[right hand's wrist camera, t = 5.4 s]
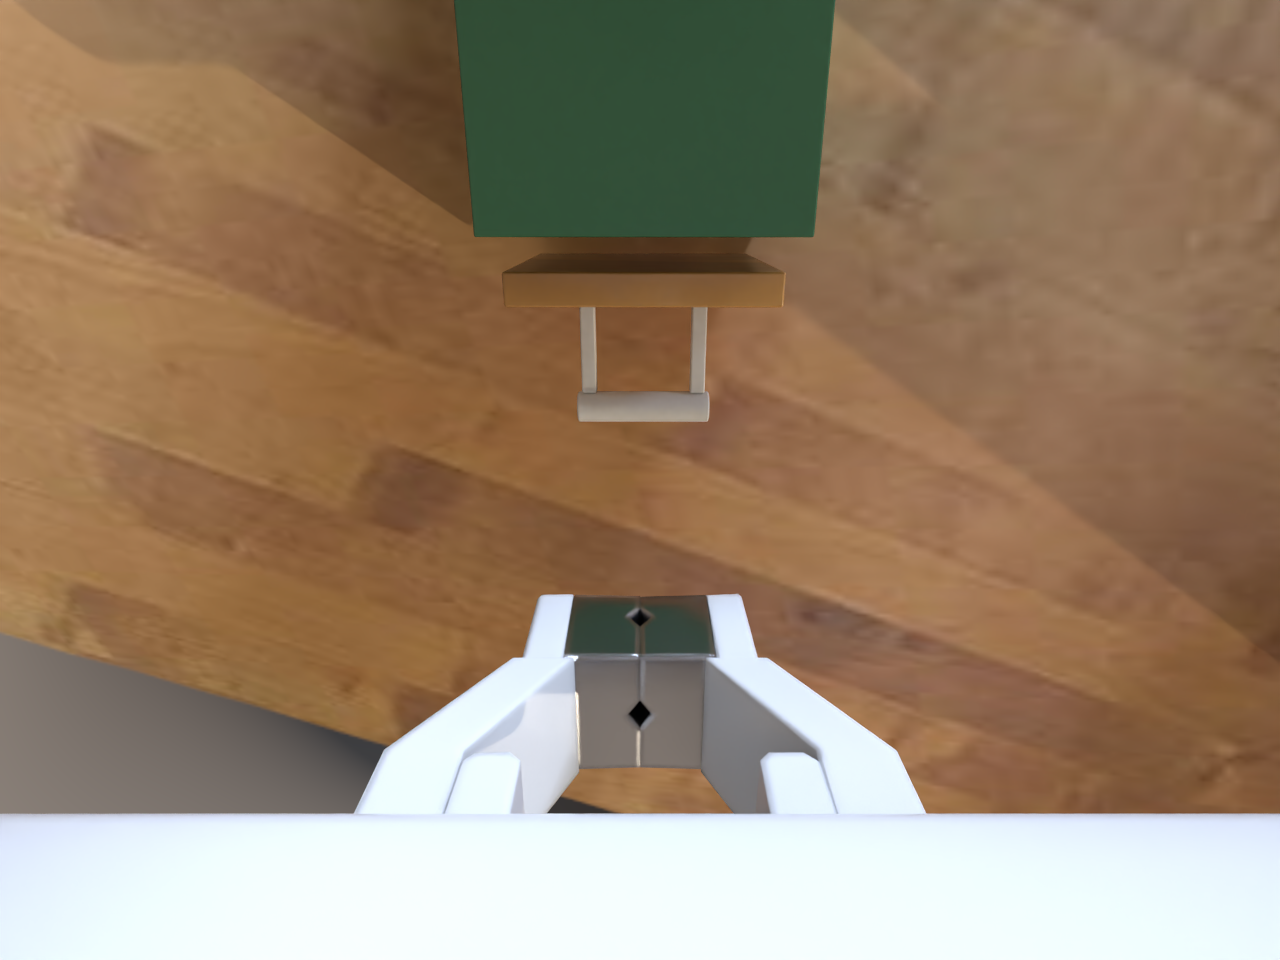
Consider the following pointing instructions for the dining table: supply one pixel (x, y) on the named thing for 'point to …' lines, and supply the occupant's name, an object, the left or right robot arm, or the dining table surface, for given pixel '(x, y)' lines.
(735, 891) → the right robot arm
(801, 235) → the cabinet
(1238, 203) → the dining table surface
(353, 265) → the dining table surface
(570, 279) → the drawer
